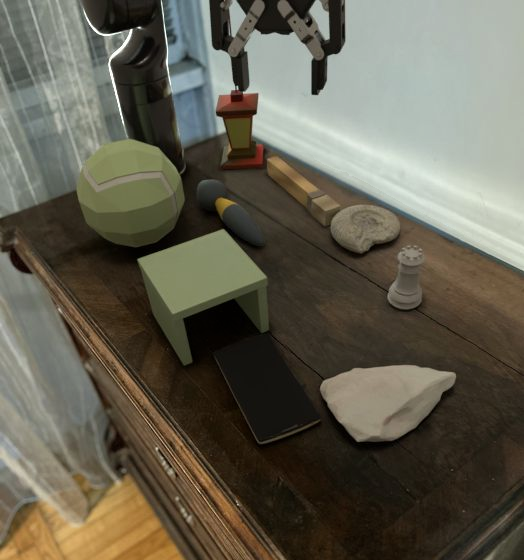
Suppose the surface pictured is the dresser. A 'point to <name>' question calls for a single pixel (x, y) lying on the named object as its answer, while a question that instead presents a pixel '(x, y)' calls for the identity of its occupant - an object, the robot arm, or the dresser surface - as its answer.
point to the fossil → (364, 227)
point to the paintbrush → (228, 211)
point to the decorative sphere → (130, 193)
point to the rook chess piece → (407, 280)
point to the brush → (303, 191)
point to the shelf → (202, 284)
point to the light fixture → (239, 128)
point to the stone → (384, 399)
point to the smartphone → (266, 389)
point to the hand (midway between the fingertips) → (279, 90)
